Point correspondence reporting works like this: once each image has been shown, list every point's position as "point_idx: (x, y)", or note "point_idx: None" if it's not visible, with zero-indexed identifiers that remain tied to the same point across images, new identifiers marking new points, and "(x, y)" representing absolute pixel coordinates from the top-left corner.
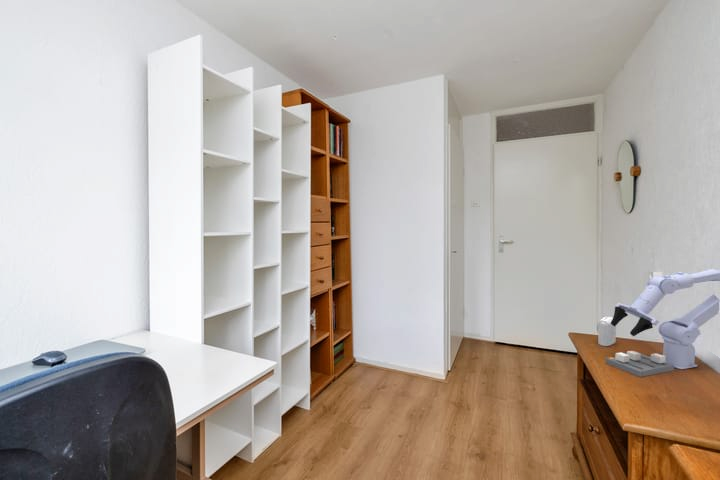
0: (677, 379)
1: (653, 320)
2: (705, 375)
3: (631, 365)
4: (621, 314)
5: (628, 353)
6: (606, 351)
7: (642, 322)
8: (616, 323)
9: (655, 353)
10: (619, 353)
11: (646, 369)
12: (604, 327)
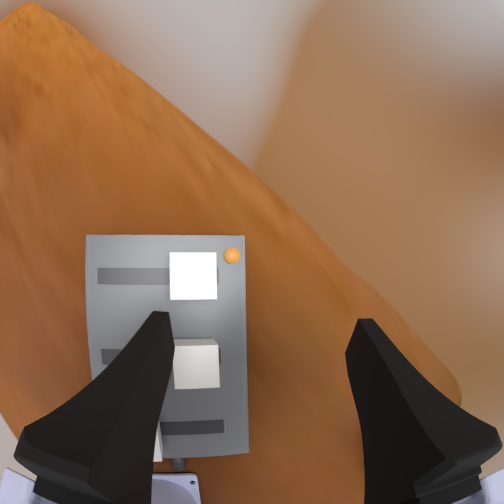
0: (45, 365)
1: (13, 501)
2: None
3: (141, 267)
4: (391, 454)
5: (207, 343)
6: (335, 376)
7: (62, 417)
8: (353, 375)
9: (160, 455)
10: (206, 270)
11: (91, 290)
12: None
